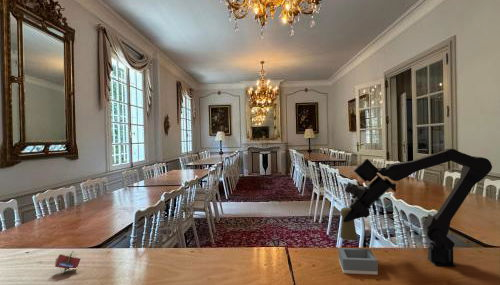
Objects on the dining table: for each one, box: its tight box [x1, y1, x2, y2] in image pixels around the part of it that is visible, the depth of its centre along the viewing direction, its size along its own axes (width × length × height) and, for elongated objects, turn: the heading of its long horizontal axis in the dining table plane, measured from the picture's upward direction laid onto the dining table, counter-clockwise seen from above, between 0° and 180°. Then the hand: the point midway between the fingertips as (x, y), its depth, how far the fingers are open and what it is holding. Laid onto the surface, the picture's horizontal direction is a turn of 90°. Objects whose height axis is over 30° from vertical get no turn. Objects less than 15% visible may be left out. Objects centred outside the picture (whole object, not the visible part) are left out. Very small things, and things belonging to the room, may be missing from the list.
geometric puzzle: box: [54, 251, 81, 271], centre depth 105 cm, size 7×7×8 cm
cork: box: [339, 207, 358, 241], centre depth 114 cm, size 6×6×11 cm
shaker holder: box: [338, 247, 379, 275], centre depth 103 cm, size 11×11×4 cm
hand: (344, 219), depth 114 cm, fingers closed on cork, 5 cm apart
